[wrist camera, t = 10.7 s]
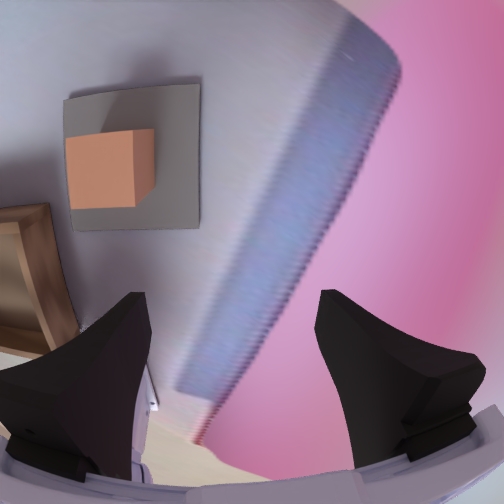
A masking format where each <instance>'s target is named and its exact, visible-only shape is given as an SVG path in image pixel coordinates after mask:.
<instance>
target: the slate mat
mask: <svg viewBox="0 0 504 504" xmlns="http://www.w3.org/2000/svg"><path fill="white" fill-rule="evenodd" d="M199 109H200V84H182V85H165V86H152V87H142V88H133V89H125V90H117V91H110V92H104V93H98V94H92V95H87V96H81V97H76V98H72V99H67V100H64V106H63V130H64V156H65V171H66V182H67V192H68V200H69V208H70V215H71V222H72V228H73V231H100V230H139V229H199ZM141 129H154V169H155V187H154V188H153V189H152V190H151V191H150V192H149V193H148V194H147V195H146V196H145V197H144V198H143V199H142V200H141V201H140V202H139V203H138V205H137V206H136V207H111V208H88V209H71V205H70V196H69V187H68V175H67V160H66V138H70V137H77V136H84V135H91V134H99V133H108V132H117V131H128V130H141Z"/></svg>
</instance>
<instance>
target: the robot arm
mask: <svg viewBox="0 0 504 504" xmlns="http://www.w3.org/2000/svg"><path fill="white" fill-rule="evenodd" d="M314 330H315V333H316V338H317V341H318V345H319V348H320V351H321V353H322V356H323V358H324V360H325V363H326V365H327V367H328V369H329V372H330V374H331V377H332V379H333V381H334V384H335V386H336V388H337V391H338V394H339V397H340V400H341V404H342V407H343V411H344V415H345V419H346V423H347V427H348V431H349V436H350V442H351V447H352V453H353V459H354V466H355V469H354V470H341V471H334V472H327V473H321V474H316V475H310V476H304V477H298V478H291V479H285V480H275V481H265V482H253V483H234V484H218V485H205V486H201V487H183V486H168V485H157V484H153V479H152V475H151V473H150V471H149V469H148V467H147V466H146V465H145V464H143V463H140V462H141V455H142V454H143V452H144V448H145V441H146V434H147V427H148V421H149V414H150V410H154V411H156V410H158V409H159V405H158V402H157V399H156V396H155V393H154V389H153V386H152V383H151V379H150V376H149V372H148V369H147V365H146V361H147V358H148V354H149V348H150V341H151V334H152V331H151V326H150V321H149V315H148V310H147V304H146V298H145V292H130V293H129V294H127V295H126V296H125V297H124V298H123V299H122V300H121V301H119V302H118V303H117V304H116V305H115V306H114V307H113V308H112V309H110V310H109V311H108V312H107V313H106V314H105V315H104V316H102V317H101V318H100V319H99V320H97V321H96V322H95V323H94V324H92V325H91V326H90V327H89V328H87V329H86V330H85V331H84V332H82V333H81V334H79V335H78V336H76V337H75V338H73V339H72V340H70V341H69V342H67V343H65V344H64V345H62V346H60V347H58V348H56V349H55V350H53V351H51V352H49V353H47V354H45V355H43V356H41V357H38V358H36V359H34V360H31V361H29V362H26V363H23V364H20V365H17V366H14V367H10V368H7V369H3V370H0V422H1V423H2V424H3V425H4V426H5V427H6V429H7V430H8V431H9V432H10V433H11V436H10V439H9V440H7V439H6V438H5V437H3V436H1V435H0V504H444V503H446V502H448V501H449V500H451V499H453V498H454V497H456V496H458V495H459V494H461V493H463V492H464V491H466V490H467V489H469V488H470V487H472V486H474V485H475V484H477V483H478V482H479V481H481V480H482V479H484V478H485V477H487V476H488V475H489V474H490V473H491V472H493V471H494V470H495V469H496V468H497V467H499V466H500V465H501V464H502V463H503V462H504V417H503V415H502V414H501V412H500V411H499V410H498V408H497V406H496V405H495V404H494V405H491V406H490V407H488V408H486V409H484V410H482V411H481V412H479V413H477V414H476V415H475V416H474V417H473V418H472V417H471V416H470V414H469V412H470V411H471V410H472V407H471V406H470V404H469V403H468V402H469V401H470V399H471V398H472V397H473V395H474V394H475V392H476V391H477V389H478V388H479V386H480V385H481V383H482V382H483V380H484V377H485V374H486V368H485V366H484V365H483V364H482V362H481V361H480V360H479V359H478V357H477V356H476V355H475V354H472V353H466V352H461V351H456V350H451V349H447V348H444V347H440V346H437V345H434V344H431V343H428V342H425V341H422V340H420V339H417V338H415V337H413V336H411V335H408V334H406V333H404V332H402V331H400V330H398V329H396V328H394V327H392V326H391V325H389V324H387V323H386V322H384V321H382V320H381V319H379V318H377V317H376V316H374V315H373V314H371V313H370V312H368V311H367V310H365V309H364V308H362V307H361V306H359V305H358V304H356V303H355V302H354V301H352V300H351V299H349V298H348V297H346V296H345V295H344V294H342V293H341V292H339V291H337V290H335V289H330V290H321V296H320V301H319V306H318V312H317V317H316V322H315V327H314Z"/></svg>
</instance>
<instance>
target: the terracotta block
mask: <svg viewBox="0 0 504 504" xmlns="http://www.w3.org/2000/svg"><path fill="white" fill-rule="evenodd" d="M66 160H67V175H68V187H69V196H70V205H71V209H88V208H111V207H136V206H137V205H138V203H139V202H140V201H141V200H142V199H143V198H144V197H145V196H146V195H147V194H148V193H149V192H150V191H151V190H152V189H153V188H154V187H155V169H154V129H141V130H128V131H117V132H108V133H99V134H91V135H84V136H77V137H70V138H66Z"/></svg>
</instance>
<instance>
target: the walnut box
mask: <svg viewBox="0 0 504 504" xmlns="http://www.w3.org/2000/svg"><path fill="white" fill-rule="evenodd" d="M80 333H81V332H80V329H79V326H78V323H77V320H76V317H75V314H74V311H73V308H72V305H71V301H70V298H69V295H68V291H67V287H66V284H65V280H64V276H63V272H62V268H61V264H60V260H59V255H58V251H57V246H56V241H55V236H54V231H53V225H52V219H51V213H50V206H49V203H43V204H33V205H23V206H15V207H6V208H0V352H3V353H8V354H12V355H16V356H21V357H25V358H30V359H36V358H38V357H41V356H43V355H45V354H47V353H49V352H51V351H53V350H55V349H56V348H58V347H60V346H62V345H64V344H65V343H67V342H69V341H70V340H72V339H73V338H75V337H76V336H78V335H79V334H80Z"/></svg>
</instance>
